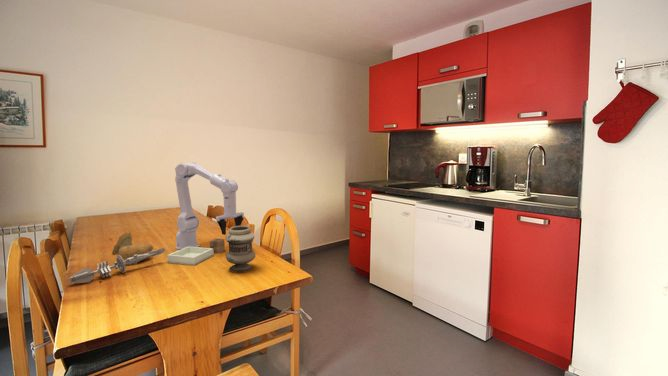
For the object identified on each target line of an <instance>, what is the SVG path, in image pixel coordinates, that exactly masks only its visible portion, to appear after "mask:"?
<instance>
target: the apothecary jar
mask: <svg viewBox="0 0 668 376" xmlns="http://www.w3.org/2000/svg"><path fill="white" fill-rule="evenodd" d="M254 239H255V234H254V232H253V231H251V226H249V225H241V226H235V225H234V226H232V227H230V228H229V230H228V233H226V235H225V242H227V243H228V252H227V253H226V255H225V260H226V261H227V262H229V263H230V264H232V265H231V266H230V267H229V268H228V271H229V272H231V273H236V274H237V273H238V274H239V273H247V272H250V271H252V270H253V268H254V266H253V265H252V264H250V263H251V262H252V261H253V260H254V259H255V258H256V252H255V251H254V250H253V240H254Z"/></svg>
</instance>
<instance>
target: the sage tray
mask: <svg viewBox="0 0 668 376" xmlns="http://www.w3.org/2000/svg"><path fill="white" fill-rule="evenodd" d="M214 254H215V253H214V252H213V248H210V247H201V246H199V247H190V246H188V247H186V248H183V249H178V250H176V251H173V252H171V253H169V254H167V255H166V257H167V258H166V260H167V263H168V264H176V265H177V264H179V265H186V266H197V265H198V264H200V263H202V262H203V261H206V260H208V259H210V258H212V257H214Z"/></svg>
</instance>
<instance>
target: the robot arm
mask: <svg viewBox="0 0 668 376" xmlns="http://www.w3.org/2000/svg"><path fill="white" fill-rule="evenodd" d="M174 171H175V178H174V179H175V185H176V192H177V197H178V204H179V210H180V213H179V215H178V217H177V222H176V226H177V230H178V231H177V232H176V236H175V241H176V244H175V245H176V247H175V249H176V250H177V249H178V250H181V249H183V248H186V247H188V246H190V247H201V246H202V245H201V244H198V240H197V230H198V227H199V226H200V220H199V219H198V216H197V214H196V212H194V211H193V207H192V200H191V195H190V188H189V181H190V179H191V178H193V177H194V176H196V175H198V176H200V177H202V178H204V179H206V180H208V181H209V183H210V185H212V186H214V187H216V188H218V189H219V190H220V191H221V193H222V196H223V214H220V215H218V216H217V215H216V216H215V221H216V223H217V224H218V226H219V228H220V232H221V234H222V235H224V236H226V235H227V224H228V221H227V220H228V219H234V221H233V222H234V226H242V223H243V221H244V220H245V219H244V216H245V212H242V211H241V212H237V195H236V194H237V191H238V189H239V186H238V183H237V181H235V180H230V179H229V178H226V177H224V176H222V174H221V173H214V174H213V173H212V172H210V171H208V170H207V169H205V168H204V167H203V166H201V165H200V164H199V163H197V162H184V163H183V162H180V163H178V164H177V165H176V166H175V168H174Z"/></svg>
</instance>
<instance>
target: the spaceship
mask: <svg viewBox="0 0 668 376" xmlns="http://www.w3.org/2000/svg"><path fill="white" fill-rule="evenodd" d="M165 251H166V248H164V247H163V248H157V249H155V250H152V251H151V252H150V253H146V254H142V255H137V254H136V255H134V256H133V257H131V258H128V259H126V260H125V261H124V260H123V258H122V257H121V255H118V254H116V259H115V262H113V264H112V265H109V262H108V261H109V260H107V261H106V260H105V261H103V262H100V263H96V265H97V268H96V270H93V268H90V267H89V268H88V267H83V268H82V269H80V270H78V271H77V272H75V273H73V274H72V275H71V276H69V277H68V278H67V280H68V284H81V283H82V284H84V283H85V284H86V283H90V282H92V280H93V279H94V278H95V275H96V274H99V276H100V278H106V277H109V276H112V274H111V271H112V269H114V270H117V269H118V270H119V272H121V274H125V273H126V266H129V265H132V264H133V265H136V264H138V261H139V262H141V261H143V260H145V259H147V258H152V257H156V256H158V255H161V254H163V253H165Z"/></svg>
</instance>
